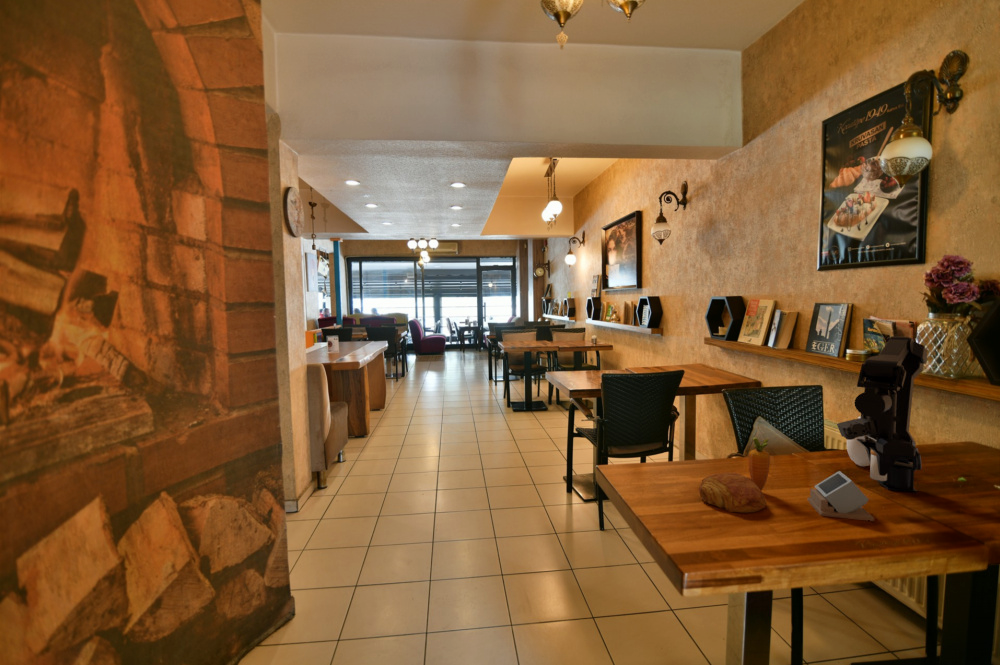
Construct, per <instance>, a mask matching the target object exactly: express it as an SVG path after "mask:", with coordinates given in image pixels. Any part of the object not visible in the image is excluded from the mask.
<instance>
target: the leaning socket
mask: <svg viewBox="0 0 1000 665" xmlns="http://www.w3.org/2000/svg"><path fill="white" fill-rule="evenodd" d="M807 501H809V502H808V503H809V504H810V505H811V506H812V508H814V510H815V511H816V512H817V513H818V515H820V516H822V517H829V518H830V517H832V518H839V519H840V518H841V519H848V520H849V519H850V520H857V521H858V520H860V521H868V520H870V522H874V521H875V518H874V516H873V515H871V514H870V513H869V512H868V511H867V510H866V509H865V508H864V507H863V506H864V505H866V504H868V502H869V501H870V499H869V498H868V497H867V496H866V495H865V493H863V491H862V490H861V489H860V488H859V487H858V486H857V485H856V484H855V483H854V481H853V480H851V479H850V478H849V477H848V476H847V475H845V474H844V473H842V471H840V470H839V471H837V472H835V473H833V474H831V475H830V476H828V477H827V478H825V479H824V480H822V481H820V482H819V483H818V484H815V485H814V488H810V494H809V497H807Z"/></svg>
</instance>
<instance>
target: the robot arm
mask: <svg viewBox="0 0 1000 665" xmlns="http://www.w3.org/2000/svg"><path fill="white" fill-rule="evenodd" d="M927 361H928V351H927V350H926V347H925V345H923V344H921V343H919V342H917V341H915V340H914V338H913V337H910V336H896V335H895V336H888V337H887V339H886V343H885V344H884V347H883V348H882V350H880V352H879V354H878V355H873V356H869V357H868V358H866V360H864V362H862V363H861V365H860V366H861V367H860V372H859V375H858V379H857V382H856V383H857V384H856V386H857V388H864V392H862V393H860V394H858V395H857V396H856V397H855V399H854V407H855V409H856V410H857V412H858V413H860V416H861V418H859V419H858V418H856V419H855V418H854V419H850V420H846V421H842V422H838V423H836V426H837V429H838V430H839V433H840V435H841V437H844V438H845V439H846V441H847V440H852V439H855V438H857V437H860V439H857V441H858V442H860V443H861V444H862V445H863V446H864V447H865V448H866V451H867V454H868V458H869V461H870V464H871V449H872V450H873V451H874V452H875V453H876V455H877V463H878V470H879V475H881V476H885V475H886V474H887V480H886V481H879V480H876V482H877V483H878V484H880V485H881V486H882V487H884V488H886V489H887V490H888V491H897V492H898V491H899V492H908V493H909V492H911V493H918V490H917V489H916V488H914V484H915V472H916V471H921V470H922V457H921V453H920V452H919V448H918V447H916V444H917V443H916V440H915V439H914V437H913V435H912V434H911V433H910V423H911V412H912V404H913V393H914V382H915V378H917V377H918V376H919V375H920V374H921V373H922V372H923V369H924V365H926V364H927ZM870 464H869V465H870Z"/></svg>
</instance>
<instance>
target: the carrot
mask: <svg viewBox="0 0 1000 665" xmlns="http://www.w3.org/2000/svg"><path fill="white" fill-rule="evenodd" d="M752 440H753V442H754V445H753V447H754V448H755V449H752V450H750V451H749V453H748V471H749V475H750V476H749V477H750V479H751V480H752V481H753V482H754V483H755V484H756V485H757V486H758V488H759V489H760V490H761V491H762V490H763V489H764V487H765V485H766V483H767V481H768V477H769V472H770V465H771V462H770V460H771V457H770V456H771V455H770V454H769V452H767V451H765V450H764V448H765V447H767V446H768V442H769V439H768V438H765V439H764V441H763V443H762V444H761V442H760V440H759V438H757V437H756V436H755V437H753V438H752Z"/></svg>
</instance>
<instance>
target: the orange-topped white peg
mask: <svg viewBox="0 0 1000 665" xmlns="http://www.w3.org/2000/svg"><path fill="white" fill-rule="evenodd" d="M869 467H870V469H869V471H870V472H869V473H870V474H869V478H870V479H872V480H875V481H877V480H879V481H886V480H887V474H886V475H885V476H881V475H879V470H878V463H877V455H876V453H875V452H874V451H873V450H872V449H871V464H869Z"/></svg>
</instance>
